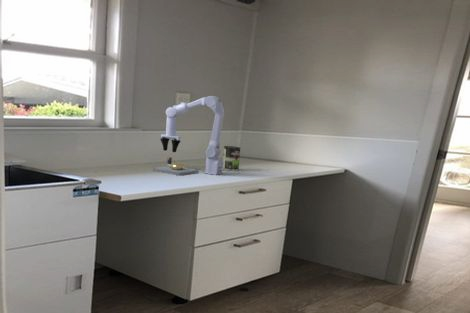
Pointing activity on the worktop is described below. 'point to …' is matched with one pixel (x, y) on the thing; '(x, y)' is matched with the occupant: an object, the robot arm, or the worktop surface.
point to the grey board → (173, 171)
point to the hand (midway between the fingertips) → (169, 151)
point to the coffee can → (231, 158)
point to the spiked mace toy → (174, 166)
